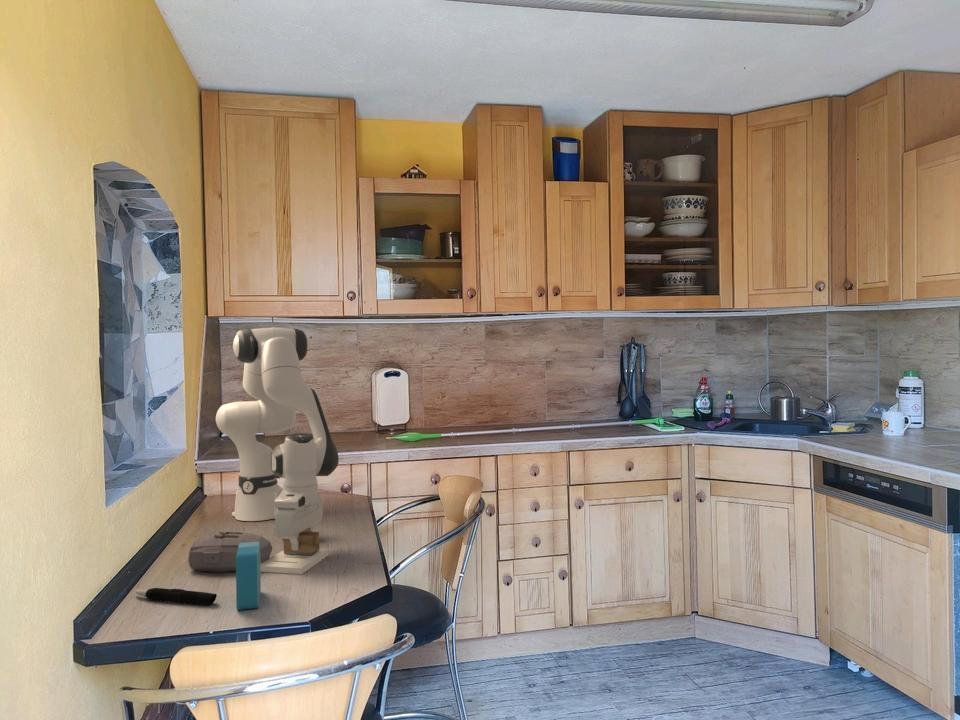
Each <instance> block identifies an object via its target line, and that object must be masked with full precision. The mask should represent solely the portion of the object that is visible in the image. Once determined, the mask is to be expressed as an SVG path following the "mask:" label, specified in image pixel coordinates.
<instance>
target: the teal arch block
mask: <svg viewBox="0 0 960 720" xmlns="http://www.w3.org/2000/svg"><path fill="white" fill-rule="evenodd" d="M261 579H262V578H261V571H260V542H246V543H239V547H238V551H237V555H236V571H235V584H236V585H235V588H236V591H235V592H236V593H235V594H236V599H235V602H236V604H235V605H236V610H237V611H242V610H251V609H252V610H253V609H259V608H260V601H261V587H262V586H261V585H262V584H261V582H262V581H261Z"/></svg>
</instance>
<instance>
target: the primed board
mask: <svg viewBox="0 0 960 720" xmlns="http://www.w3.org/2000/svg"><path fill="white" fill-rule="evenodd" d="M329 555H330V554H329V549H323V548H321V549H320V548H319V551H317V552H316V553H314V554H313V555H299V554H284V549H283V550H281V551H280V552H278V553H276V554H274V555H272V556H270V557H269V559H268V560H266V561H265V562H263V563H261V564H260V571H261V572H262V573H274V574H275V573H276V574H287V575H288V574H289V575H292V574H293V575H302V574H304V573H305V572H307V571H308V570H310V569H312V567H314V566H315V565H317V564H318V563H320V562H321V561H323V560H324V559H326V558H327V557H329ZM326 556H327V557H326ZM325 557H326V558H325ZM322 559H323V560H322Z"/></svg>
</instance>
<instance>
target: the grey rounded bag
mask: <svg viewBox="0 0 960 720" xmlns="http://www.w3.org/2000/svg"><path fill="white" fill-rule="evenodd" d="M246 542H260V564H261V563H263V562H265V561H266V560H268V559H269V558H271V554H272V551H273V547H272V543H271V541H270V540H269V539H267V538H265V537H264V536H262V535H258V534H254V533H251V532H237V531H236V532H235V531H226V532H223V531H218V533H215V534H211V535H207V536H203V537H200V538H198V539H197V540H195V542H193V543H192V545H191V547H190V549H189V552H188V564H189V565H188V566H189V567H190V569H191V570H194V571H195V570H196V571H204V572H212V573H213V572H214V573H215V572H216V573H225V572H226V573H227V572H236V555H237V551H238V547H239V543H246Z"/></svg>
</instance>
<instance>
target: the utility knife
mask: <svg viewBox="0 0 960 720" xmlns="http://www.w3.org/2000/svg"><path fill="white" fill-rule="evenodd" d="M135 594H137V595H138V596H139V597H144V598H146V599H148V600H150V601H153V600H154V601H153V602H163V603H164V602H165V603H171V604H172V603H174V604H184V603H185V605H186V604H187V605H193V606H195V605H196V606H208V607H209V606H210V605H213V604H214V603H215V601H216V600H217V596H218V594H217V593H212V592H205V591H196V590H186V589H183V588H162V587H153V588H149V589H140V588H137V589H135Z"/></svg>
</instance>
